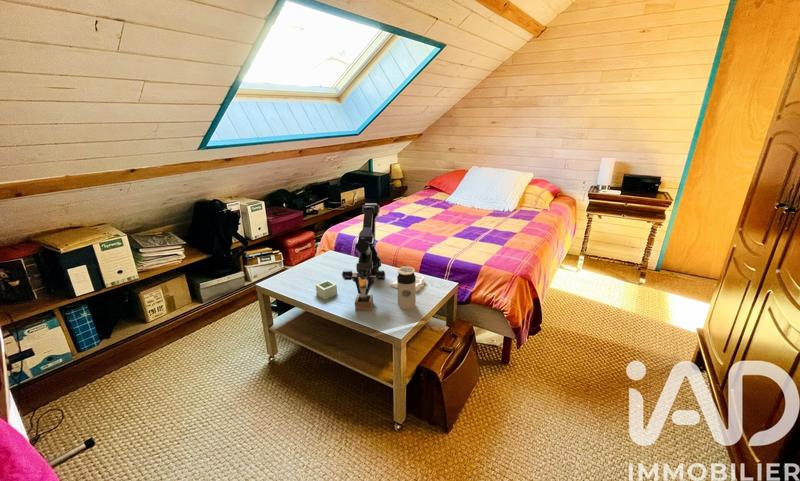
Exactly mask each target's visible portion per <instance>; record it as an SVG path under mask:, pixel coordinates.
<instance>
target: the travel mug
mask: <svg viewBox="0 0 800 481" xmlns="http://www.w3.org/2000/svg"><path fill="white" fill-rule="evenodd" d="M415 272H416V269H415V268H414V267H412V266H401V267H399V268H398V269H397V273H398V275H397V276H396V277H397V278H396V280H397V287H398V288H397V306H398V307H399V308H400V309H401V310H402V309H403V310H411V309H413V308H416V303H417V302H416V299H417V297H416V293H417V292H416V277H415Z"/></svg>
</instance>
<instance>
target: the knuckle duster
mask: <svg viewBox="0 0 800 481" xmlns="http://www.w3.org/2000/svg"><path fill="white" fill-rule="evenodd" d="M414 275H415V274H414ZM415 277H416V293H417V292H418V291H419V290H422V288H423V287H425V285H424V284H425V277H424V276H423V275H419V274H416V275H415ZM422 284H423V285H422ZM389 286H390V287H392V288H395V289H398V287H397V279H396V280H395V281H393V282H392V283H390V284H389ZM421 287H422V288H421Z"/></svg>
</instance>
